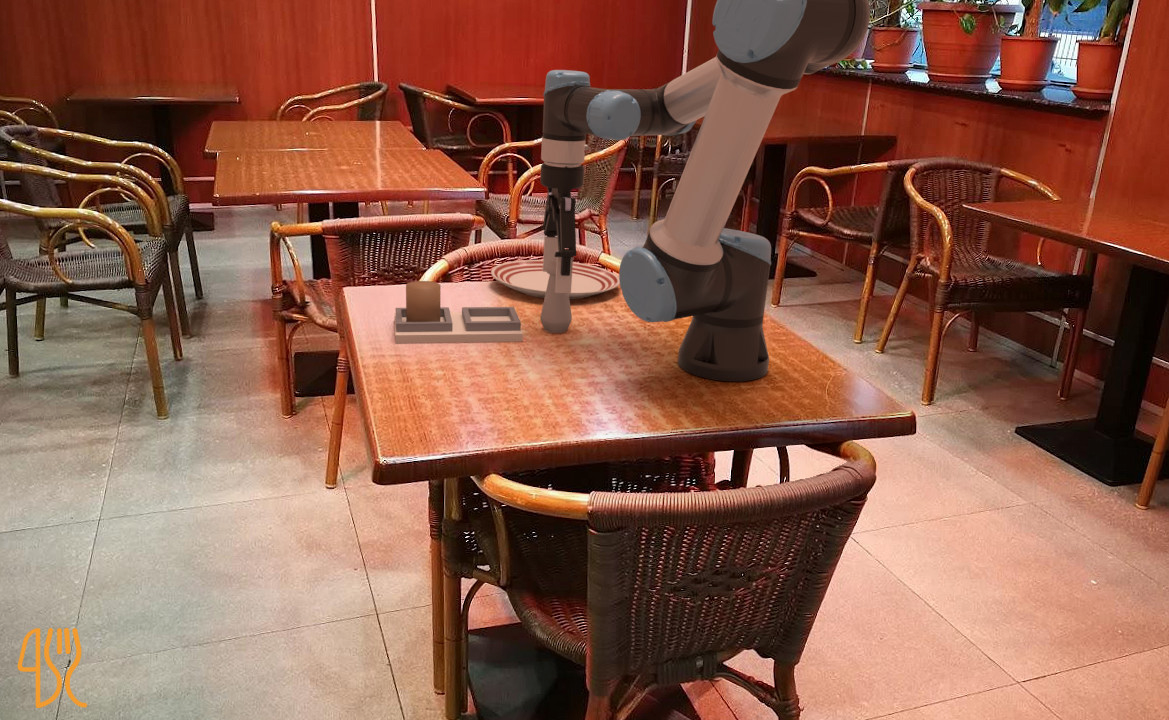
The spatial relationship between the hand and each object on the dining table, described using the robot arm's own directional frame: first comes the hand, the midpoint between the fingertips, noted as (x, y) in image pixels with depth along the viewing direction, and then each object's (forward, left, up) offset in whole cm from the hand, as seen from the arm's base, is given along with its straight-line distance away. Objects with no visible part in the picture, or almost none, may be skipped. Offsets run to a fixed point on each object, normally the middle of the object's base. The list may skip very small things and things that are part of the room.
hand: (556, 281), depth 171 cm
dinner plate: (+29, -5, -10) cm, 31 cm away
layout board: (0, +18, -9) cm, 20 cm away
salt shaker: (0, 0, -9) cm, 9 cm away
